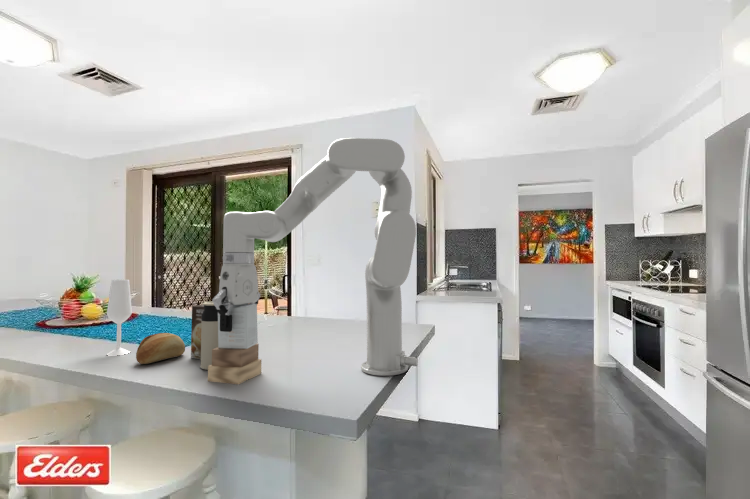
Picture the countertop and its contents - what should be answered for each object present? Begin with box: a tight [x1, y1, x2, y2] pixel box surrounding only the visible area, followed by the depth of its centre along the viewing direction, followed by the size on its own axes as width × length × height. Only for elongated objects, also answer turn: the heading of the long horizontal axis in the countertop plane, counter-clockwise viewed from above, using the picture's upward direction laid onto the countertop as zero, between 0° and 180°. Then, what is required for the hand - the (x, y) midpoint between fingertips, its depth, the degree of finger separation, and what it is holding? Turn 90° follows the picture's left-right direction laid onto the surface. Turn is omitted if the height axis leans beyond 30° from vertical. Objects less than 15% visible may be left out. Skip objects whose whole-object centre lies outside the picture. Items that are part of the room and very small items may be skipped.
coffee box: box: [190, 304, 205, 360], centre depth 111 cm, size 9×6×16 cm
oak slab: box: [207, 358, 262, 385], centre depth 90 cm, size 9×9×4 cm
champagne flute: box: [106, 279, 133, 357], centre depth 116 cm, size 7×7×24 cm
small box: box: [218, 304, 259, 349], centre depth 91 cm, size 8×6×10 cm
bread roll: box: [135, 332, 186, 365], centre depth 107 cm, size 10×15×8 cm, turn 164°
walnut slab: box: [212, 343, 260, 367], centre depth 91 cm, size 8×8×4 cm
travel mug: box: [200, 301, 218, 371], centre depth 100 cm, size 8×8×18 cm
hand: (238, 328), depth 91 cm, fingers open, 8 cm apart
